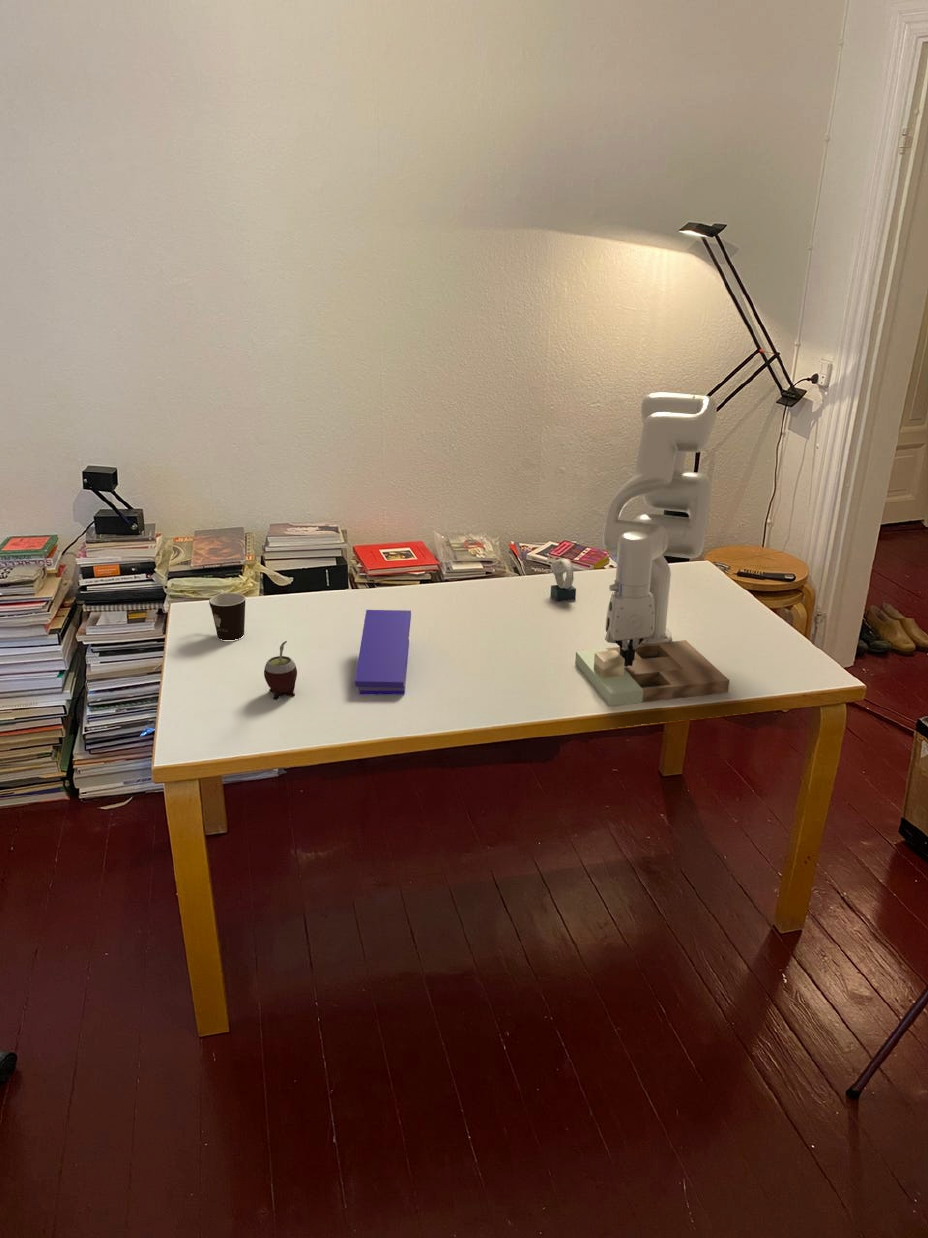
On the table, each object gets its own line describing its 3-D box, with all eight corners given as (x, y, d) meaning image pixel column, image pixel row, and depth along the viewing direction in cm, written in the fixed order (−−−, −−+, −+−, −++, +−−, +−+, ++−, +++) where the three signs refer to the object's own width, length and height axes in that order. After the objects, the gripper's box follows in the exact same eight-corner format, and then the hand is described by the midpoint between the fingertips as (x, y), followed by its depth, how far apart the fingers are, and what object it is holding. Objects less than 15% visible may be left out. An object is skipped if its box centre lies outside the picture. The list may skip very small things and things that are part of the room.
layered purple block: (411, 643, 245) (411, 607, 242) (407, 697, 220) (406, 656, 216) (364, 643, 245) (363, 606, 241) (355, 697, 220) (353, 656, 216)
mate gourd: (276, 684, 224) (272, 622, 218) (307, 690, 222) (303, 628, 216) (258, 698, 218) (253, 635, 212) (290, 705, 215) (285, 641, 209)
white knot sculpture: (565, 591, 277) (567, 553, 273) (578, 601, 270) (580, 563, 266) (547, 593, 276) (548, 556, 271) (559, 604, 269) (561, 565, 264)
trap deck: (642, 702, 217) (643, 690, 216) (605, 659, 237) (605, 648, 236) (728, 692, 222) (729, 680, 221) (684, 651, 242) (685, 640, 240)
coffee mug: (251, 640, 246) (248, 603, 242) (216, 645, 243) (212, 607, 239) (243, 623, 256) (239, 586, 252) (208, 627, 253) (205, 591, 249)
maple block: (602, 678, 221) (603, 662, 220) (593, 668, 226) (594, 652, 224) (623, 675, 223) (624, 659, 221) (613, 666, 227) (615, 650, 225)
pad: (609, 706, 216) (610, 693, 214) (575, 662, 235) (575, 651, 234) (642, 702, 217) (643, 690, 216) (605, 659, 237) (605, 648, 236)
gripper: (606, 597, 213) (601, 674, 221) (671, 591, 217) (664, 667, 224) (594, 584, 220) (589, 660, 227) (656, 579, 223) (650, 653, 231)
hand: (626, 663), depth 226 cm, fingers closed
